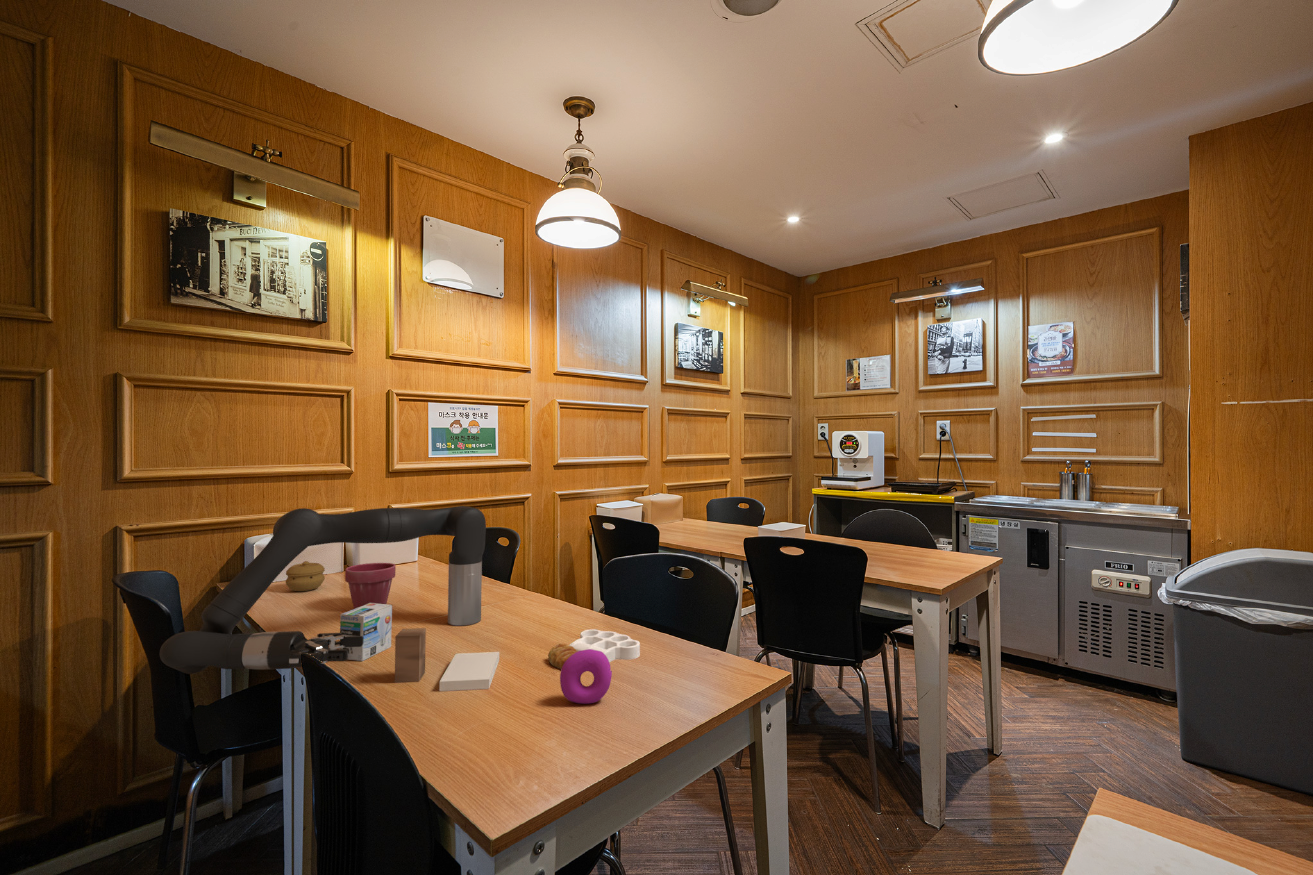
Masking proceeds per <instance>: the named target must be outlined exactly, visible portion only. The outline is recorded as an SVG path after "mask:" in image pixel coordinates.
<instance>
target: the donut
mask: <svg viewBox="0 0 1313 875" xmlns="http://www.w3.org/2000/svg"><path fill="white" fill-rule="evenodd" d="M587 672H589V673H591V674H592V675H593V681H592V682H591V684H590V685H586V686H585V685H583V683H582V681H581V677H582V675H583V674H584V673H587ZM612 672H613V671H612V670H611V662H609V660H608V658H607V657H606V655H605V654H604V653H603V652H601V651H597V650H593V649H587V650H582V651H578V652H576V653H574V654H573V655H572V656H570V657H569V658H568V659H567V660H566V662H565V663H564V665H563V667H562V669H560V674H559V681H560V682H559V683H560V689H561V692H562V694H563V696H564V698H566V699H567V700H568V701H569V702H571V703H576V704H594V703H597V702H599V701H601V700H602V699H603V697H604V696H605V695H606V694H607V692H608V691H609V688H610V686H611V682H612V677H613V674H612Z"/></svg>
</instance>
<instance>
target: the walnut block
mask: <svg viewBox="0 0 1313 875" xmlns="http://www.w3.org/2000/svg"><path fill="white" fill-rule="evenodd" d="M426 636H427V628H426V627H417V628H402V629H400V630H399V632H397V634H396V635H395V638H394V639H395V642H394V647H395V649H394V684H401V683H403V684H404V683H405V684H406V683H419V682H420V681H421V679H422V678H423V677H424V676H425V674H426V650H427V649H426V648H427V647H426V642H427V641H426V640H427V637H426Z"/></svg>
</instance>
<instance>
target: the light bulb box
mask: <svg viewBox="0 0 1313 875" xmlns="http://www.w3.org/2000/svg"><path fill="white" fill-rule="evenodd" d="M339 617H340V621H339V624H340V625H339V626H340V628H339V633H342V632H346V636H363V637H364V642H363V645H362V646H361V647H343V648H339V649H347V650H348V659H347V660H348V661H358V662H363V661H365V660H368V659H369V658H371V657H373V656H375V655H377V654H380V653H381V652H383V651H386V650H388V649H389V648H391V647H392V627H393V626H392V623H393V622H392V620H393V605H392V604H376V603H369V604H366V605H364V606H361V607H358V608H356V609H354V608H353V609H350V610H349V611H345V612H343V613H340V616H339Z"/></svg>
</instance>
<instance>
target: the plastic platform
mask: <svg viewBox="0 0 1313 875" xmlns="http://www.w3.org/2000/svg"><path fill="white" fill-rule="evenodd" d="M499 661H500V651H489V652H487V651H485V652H464V653H463V652H461V653H458V652H457V653H455V655H454V657H453V658H452V659H451V661H450V662H449V664H448V666H447V668H446V670H445V672H444V674H443V675H442V677H441V678H440V680H439V692H448V691H449V692H453V691H471V690H472V691H473V690H475V691H476V690H489V689H490V687H491V684H492V682H493V678H494V677H495V674H496V671H497V668H498V665H499Z"/></svg>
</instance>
